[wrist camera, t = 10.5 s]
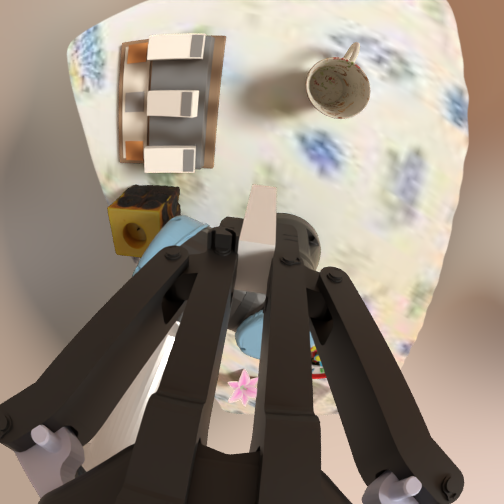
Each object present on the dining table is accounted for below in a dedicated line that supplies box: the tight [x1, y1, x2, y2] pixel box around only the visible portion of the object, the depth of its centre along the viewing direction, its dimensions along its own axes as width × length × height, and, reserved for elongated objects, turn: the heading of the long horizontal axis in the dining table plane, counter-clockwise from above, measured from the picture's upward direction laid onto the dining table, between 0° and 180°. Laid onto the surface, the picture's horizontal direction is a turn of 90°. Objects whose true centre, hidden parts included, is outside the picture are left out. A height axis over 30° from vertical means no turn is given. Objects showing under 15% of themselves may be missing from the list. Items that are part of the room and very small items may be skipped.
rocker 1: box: [147, 34, 206, 60], centre depth 30 cm, size 4×8×2 cm, turn 84°
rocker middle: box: [147, 90, 199, 118], centre depth 35 cm, size 4×8×2 cm, turn 84°
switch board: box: [119, 36, 226, 169], centre depth 38 cm, size 23×18×4 cm
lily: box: [228, 369, 258, 406], centre depth 80 cm, size 12×12×10 cm
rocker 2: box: [144, 146, 196, 173], centre depth 40 cm, size 4×8×2 cm, turn 84°
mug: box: [306, 42, 370, 119], centre depth 31 cm, size 8×13×10 cm, turn 159°
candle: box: [107, 185, 181, 258], centre depth 47 cm, size 10×10×10 cm
